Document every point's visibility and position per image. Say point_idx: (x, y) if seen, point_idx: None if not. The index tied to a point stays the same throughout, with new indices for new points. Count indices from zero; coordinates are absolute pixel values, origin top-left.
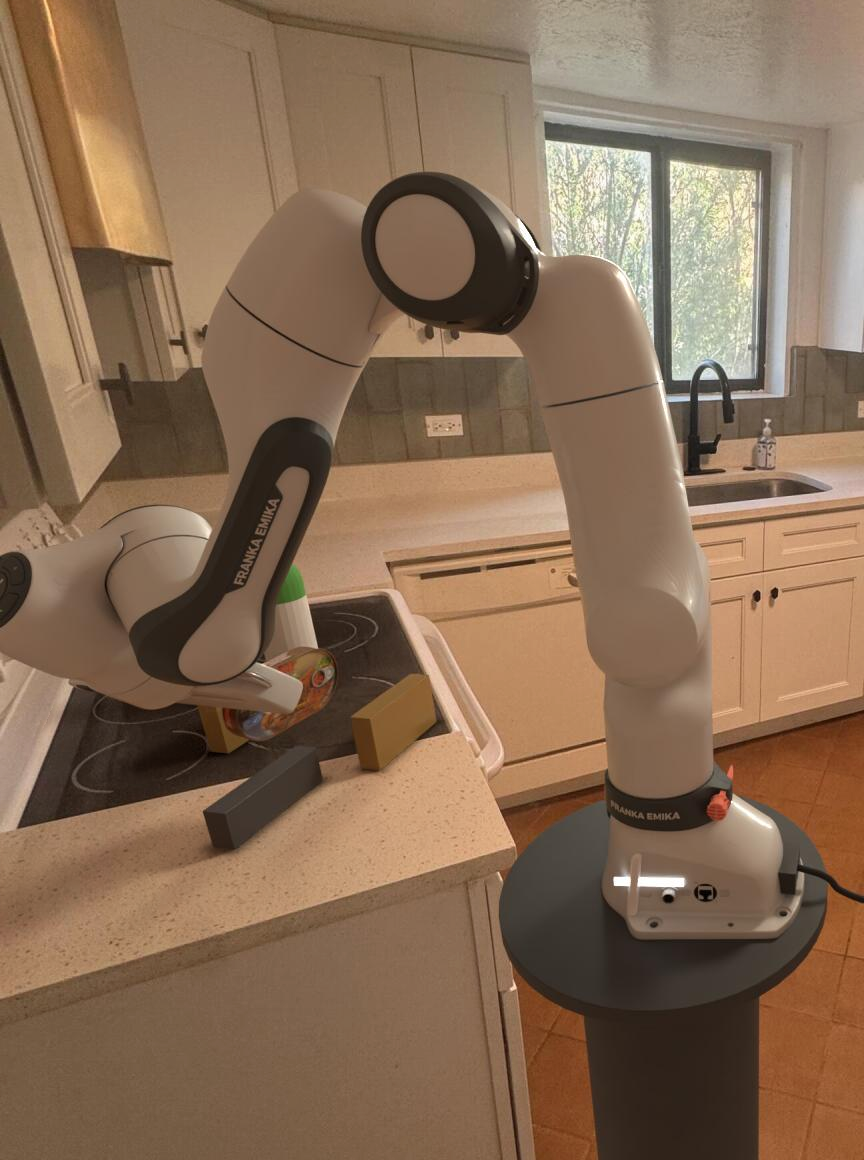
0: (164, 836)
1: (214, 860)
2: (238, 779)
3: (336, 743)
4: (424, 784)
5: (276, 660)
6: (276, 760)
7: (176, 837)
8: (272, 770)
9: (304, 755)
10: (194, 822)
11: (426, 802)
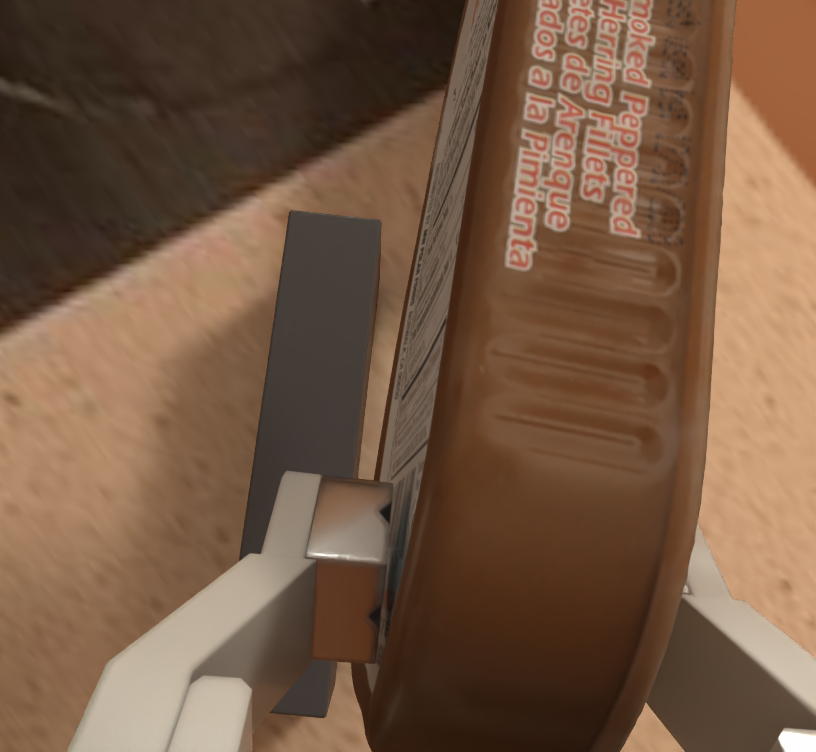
0: (33, 635)
1: (301, 747)
2: (75, 291)
3: (286, 61)
4: (729, 274)
5: (589, 97)
6: (280, 321)
7: (80, 637)
8: (312, 393)
9: (372, 278)
10: (86, 547)
11: (795, 371)
